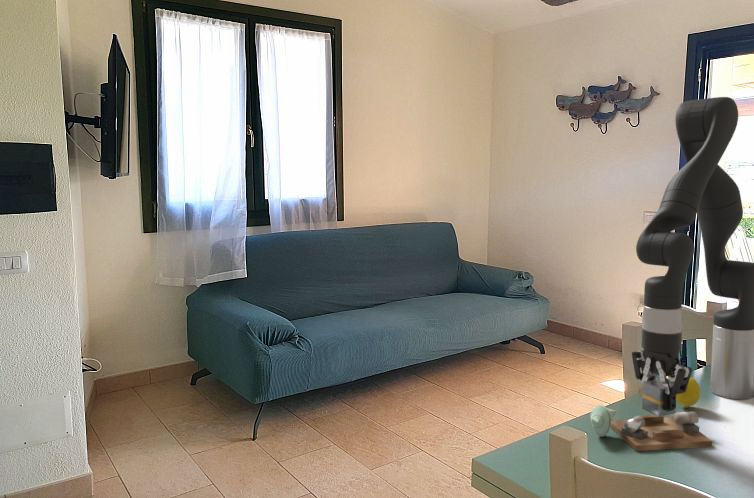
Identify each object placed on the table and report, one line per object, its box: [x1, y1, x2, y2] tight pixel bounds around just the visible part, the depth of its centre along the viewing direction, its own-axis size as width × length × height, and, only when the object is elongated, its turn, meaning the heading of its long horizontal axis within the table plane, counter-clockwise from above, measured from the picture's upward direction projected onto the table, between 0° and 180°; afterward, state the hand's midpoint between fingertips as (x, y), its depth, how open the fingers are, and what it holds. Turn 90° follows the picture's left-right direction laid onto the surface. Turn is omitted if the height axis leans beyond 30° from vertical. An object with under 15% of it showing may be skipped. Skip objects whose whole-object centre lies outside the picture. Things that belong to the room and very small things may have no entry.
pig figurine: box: [589, 404, 617, 438], centre depth 125 cm, size 8×4×7 cm, turn 131°
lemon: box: [676, 376, 701, 409], centre depth 138 cm, size 6×6×8 cm
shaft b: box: [622, 415, 648, 440], centre depth 123 cm, size 4×4×4 cm
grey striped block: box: [641, 378, 677, 417], centre depth 124 cm, size 5×5×6 cm
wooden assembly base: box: [610, 411, 713, 452], centre depth 125 cm, size 16×12×5 cm
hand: (658, 405), depth 124 cm, fingers closed on grey striped block, 4 cm apart
